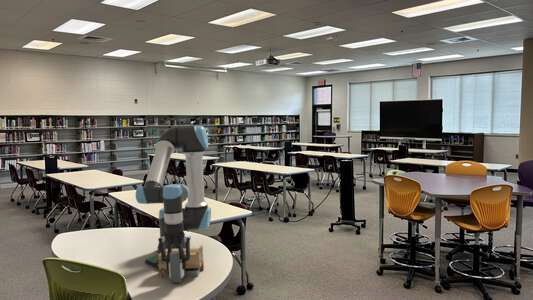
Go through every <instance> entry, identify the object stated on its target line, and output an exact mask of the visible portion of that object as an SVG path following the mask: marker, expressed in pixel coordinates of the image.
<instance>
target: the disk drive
mask: <svg viewBox="0 0 533 300" xmlns="http://www.w3.org/2000/svg"><path fill="white" fill-rule="evenodd" d="M158 255H159V254H157V255H153V256H151V257H147V258H145V260H144V263H145V264H146V265H148V266H150V267H152V268H154V269H155V270H158V271H159V263H158ZM163 271H164V269H163Z"/></svg>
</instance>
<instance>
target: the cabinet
mask: <svg viewBox="0 0 533 300" xmlns="http://www.w3.org/2000/svg"><path fill="white" fill-rule="evenodd" d="M203 246H204V245H199V247H198V248H195V247H193V248H191V247H190V259H189V260H188V261H186V268H200V267H201V272H202V271H204V270H205V266H204V265H205V264H204V262H205V261H204V247H203ZM165 250H166V257H167V251H168V249H165ZM183 250H184V253H185V257H186V249H183ZM172 251H179V249H172ZM157 255H158V263H159V270H158V277H159V279H161V278H163V276H164V275H163V274H164V273H163V272H169V270H167V264H166V262H165V261H162V259H161V252H160V254H159V253H158V254H157ZM163 269H164V270H163Z"/></svg>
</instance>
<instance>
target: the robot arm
mask: <svg viewBox="0 0 533 300" xmlns="http://www.w3.org/2000/svg"><path fill="white" fill-rule="evenodd" d="M154 148H155V152H154V155H153V157H152V161H151V165H150V168H149V170H148V174H147V177H146V180H145V181H144V185H142V186H138V187H137V188H136V190H135V200H136V202H137V203H138V204H140V205H141V204H143V205H150V204H163V207H162V208H160V210H159V211H158V221H159V222H158V224H159V237H158V244H157V254H158V255H159V254H160V252H161V259H162V261H165V262H166V264H167V270H169V271H168V272H169V273H168V274H169V279H171V273H170V255H169V254H170V253H171V252H172V249H179V253H180V257H181V262H180V273H181V278H183V279H184V269H185V268H186V261H188V260H189V259H190V248H191V239H192V236H190V235H186V233H185V232H186V231H198V232H199V231H207V230H208V229H209V226H210V224H211V219H212V208H211V207H209V204H208V203H207V202H206V201H205V187H204V184H205V183H204V181H205V180H204V161H203V156H204V154H205V153H206V149H208V148H209V138H208V133H207V131H206V128H205V127H204V126H202V125H187V126H185V125H184V126H172V127H170V128H168V129H166V130H165V131H164V132H163V133H162V134H160V136H159V137H158V139H157V140H156V142H155V145H154ZM175 150H182V151H181V152H182V154H183V155H185V156H184V157H185V171H186V173H185V174H186V185H185V184H183V183H180V184H179V183H175V184H173V183H171V184H167V185H163V184H164V180H165V176H166V173H167V170H168V166H169V163H170V159H171V156H172V154H174V153H175ZM186 200H187V202H186V203H185V205H184V207H183V203H184V201H186ZM165 249H168V251H167V257H166V250H165ZM183 249H186V257H185V253H184V250H183Z"/></svg>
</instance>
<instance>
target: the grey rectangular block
mask: <svg viewBox="0 0 533 300" xmlns="http://www.w3.org/2000/svg"><path fill="white" fill-rule="evenodd" d="M169 255H170V273H171V278H170V283H181V282H182V280H184V277H183V278H181V273H180V262H181V257H180V253H179V251H172V252H171V253H170V254H169ZM185 269H186V268H185ZM185 269H184V270H185Z"/></svg>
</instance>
